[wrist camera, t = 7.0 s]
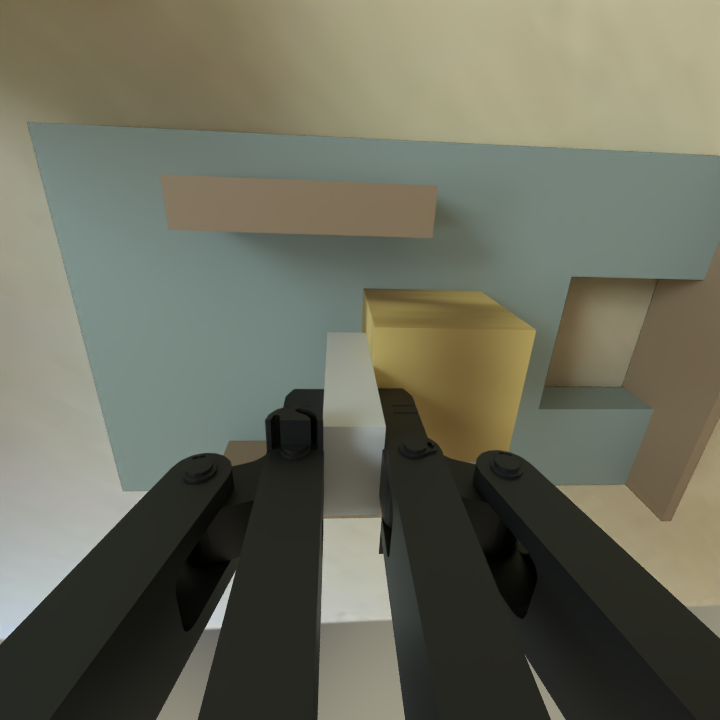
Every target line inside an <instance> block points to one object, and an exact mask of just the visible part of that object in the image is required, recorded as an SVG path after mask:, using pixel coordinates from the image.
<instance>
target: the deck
mask: <svg viewBox="0 0 720 720" xmlns="http://www.w3.org/2000/svg"><path fill="white" fill-rule="evenodd" d="M27 124H28V128H29V132H30V136H31V140H32V143H33V147H34V151H35V155H36V159H37V163H38V167H39V170H40V174H41V178H42V182H43V186H44V190H45V194H46V197H47V201H48V205H49V209H50V213H51V217H52V220H53V224H54V228H55V232H56V236H57V240H58V244H59V247H60V251H61V255H62V259H63V263H64V267H65V270H66V274H67V278H68V282H69V286H70V290H71V294H72V297H73V301H74V305H75V309H76V313H77V317H78V320H79V324H80V328H81V332H82V336H83V340H84V344H85V347H86V351H87V355H88V359H89V363H90V367H91V370H92V374H93V378H94V382H95V386H96V390H97V394H98V397H99V401H100V405H101V409H102V413H103V417H104V420H105V424H106V428H107V432H108V436H109V440H110V444H111V447H112V451H113V455H114V459H115V463H116V467H117V470H118V474H119V478H120V482H121V486H122V490H123V491H150V489H151V488H152V487H153V486H154V485H155V484H156V483H157V482H158V481H159V480H160V479H161V478H162V477H163V476H164V475H165V474H166V473H167V472H168V471H169V470H170V469H171V468H172V467H173V466H174V465H176V464H177V463H178V462H179V461H181V460H183V459H185V458H187V457H190V456H192V455H196V454H201V453H217V454H220V455H223V456H225V457H227V458H228V459H229V460H230V461H231V465H232V466H236V465H240V464H245V463H248V462H252V461H255V460H257V459H259V458H261V457H263V456H264V455H266V452H267V445H266V430H265V419H266V418H267V416H268V415H269V414H270V413H272V412H273V411H275V410H277V409H280V408H283V405H284V401H285V397H286V396H287V395H288V394H289V393H290V392H291V391H292V390H293V389H324V385H325V367H326V348H327V332H355V333H362V310H363V288H370V289H413V290H455V291H481V292H483V293H484V294H486V295H487V296H489V297H490V298H491V299H493V300H494V301H496V302H497V303H499V304H500V305H501V306H503V307H504V308H506V309H507V310H509V311H510V312H511V313H513V314H514V315H516V316H517V317H519V318H520V319H521V320H523V321H524V322H526V323H527V324H528V325H530V326H531V327H533V328H534V329H536V334H535V338H534V343H533V347H532V351H531V356H530V360H529V365H528V369H527V373H526V378H525V382H524V386H523V391H522V395H521V399H520V404H519V408H518V413H517V417H516V421H515V426H514V430H513V434H512V439H511V443H510V447H509V452H511V453H513V454H516V455H518V456H521V457H522V458H524V459H525V460H527V461H528V462H529V463H531V464H532V465H533V466H534V467H535V468H536V469H537V470H538V471H539V472H540V473H541V474H543V475H544V476H545V477H546V478H547V479H548V480H549V481H550V482H551V483H552V484H553V485H620V484H625V485H626V486H627V487H628V488H629V489H630V490H631V491H632V492H633V493H634V494H635V495H636V496H637V497H638V498H639V499H640V500H641V501H642V502H643V503H644V504H645V505H646V506H647V507H648V508H649V509H650V510H651V511H652V512H653V513H654V514H655V515H656V516H657V517H658V518H659V519H660V520H661V521H671V520H672V517H673V515H674V513H675V511H676V509H677V507H678V505H679V502H680V500H681V498H682V496H683V494H684V492H685V490H686V487H687V485H688V483H689V481H690V479H691V477H692V475H693V472H694V470H695V468H696V466H697V464H698V462H699V460H700V457H701V455H702V453H703V451H704V449H705V447H706V444H707V442H708V440H709V438H710V436H711V434H712V432H713V429H714V427H715V425H716V423H717V421H718V419H719V417H720V156H715V155H694V154H674V153H653V152H633V151H613V150H592V149H572V148H551V147H531V146H510V145H490V144H469V143H449V142H428V141H408V140H387V139H367V138H346V137H326V136H306V135H285V134H265V133H244V132H224V131H203V130H183V129H162V128H142V127H121V126H101V125H80V124H60V123H39V122H27ZM571 277H610V278H650V279H659V280H658V283H657V286H656V288H655V291H654V294H653V297H652V300H651V303H650V306H649V309H648V312H647V315H646V318H645V321H644V324H643V327H642V330H641V333H640V336H639V339H638V341H637V344H636V347H635V350H634V353H633V356H632V359H631V362H630V365H629V368H628V371H627V374H626V377H625V380H624V383H623V386H622V387H544V385H545V381H546V377H547V373H548V369H549V365H550V361H551V357H552V353H553V349H554V345H555V341H556V337H557V333H558V329H559V325H560V321H561V317H562V313H563V309H564V305H565V301H566V297H567V293H568V289H569V285H570V281H571ZM468 463H473V464H476V462H468ZM376 517H382V512H381V505H380V511H379V515H360V516H323V519H324V518H376Z"/></svg>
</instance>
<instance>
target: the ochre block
mask: <svg viewBox="0 0 720 720" xmlns="http://www.w3.org/2000/svg"><path fill="white" fill-rule="evenodd" d="M362 333H366V337H367V341H368V346H369V350H370V355H371V360H372V364H373V369H374V374H375V378H376V383H377V388H403V389H404V390H406V391H407V392H408V393H409V394H410V395H412V397H413V399H414V402H415V405H416V407H417V410H418V414H419V415H420V418H421V421H422V423H423V426H424V429H425V432H426V434H427V437H428V438H430V439H431V440H433V441H434V442H436V443H437V444H438V445H439V447H440V448H441V449H442V452H443V454H444V456H447V457H449V458H451V459H455V460H459V461H463V462H476V459H477V457H478V456H479V455H480V454H481V453H483V452H486V451H489V450H501V451H507V452H509V447H510V443H511V439H512V434H513V430H514V426H515V421H516V417H517V413H518V408H519V404H520V399H521V395H522V391H523V386H524V382H525V378H526V373H527V369H528V365H529V360H530V356H531V351H532V347H533V343H534V338H535V334H536V329H534V328H533V327H531V326H530V325H528V324H527V323H526V322H524V321H523V320H521V319H520V318H519V317H517V316H516V315H514V314H513V313H511V312H510V311H509V310H507V309H506V308H504V307H503V306H501V305H500V304H499V303H497V302H496V301H494V300H493V299H491V298H490V297H489V296H487V295H486V294H484V293H483V292H481V291H455V290H413V289H370V288H363V310H362Z"/></svg>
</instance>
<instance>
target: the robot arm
mask: <svg viewBox="0 0 720 720" xmlns="http://www.w3.org/2000/svg"><path fill="white" fill-rule="evenodd" d="M265 430H266V445H267V452H266V455H264V456H263V457H261V458H259V459H257V460H255V461H252V462H248V463H245V464H240V465H236V466H232V465H231V461H230V460H229V459H228V458H227V457H225V456H223V455H220V454H217V453H201V454H196V455H192V456H190V457H187V458H185V459H183V460H181V461H179V462H178V463H177V464H176V465H174V466H173V467H172V468H171V469H170V470H169V471H168V472H167V473H166V474H165V475H164V476H163V477H162V478H161V479H160V480H159V481H158V482H157V483H156V484H155V485H154V486H153V487H152V488H151V489H150V491H149V492H148V493H147V494H146V495H145V496H144V497H143V498H142V499H141V500H140V501H139V502H138V503H137V504H136V505H135V506H134V507H133V508H132V509H131V510H130V511H129V512H128V513H127V514H126V515H125V516H124V517H123V518H122V519H121V520H120V522H119V523H118V524H117V525H116V526H115V527H114V528H113V529H112V530H111V531H110V532H109V533H108V534H107V535H106V536H105V537H104V538H103V539H102V540H101V541H100V542H99V543H98V544H97V545H96V546H95V547H94V548H93V549H92V550H91V552H90V553H89V554H88V555H87V556H86V557H85V558H84V559H83V560H82V561H81V562H80V563H79V564H78V565H77V566H76V567H75V568H74V569H73V570H72V571H71V572H70V573H69V574H68V575H67V576H66V577H65V578H64V579H63V580H62V581H61V583H60V584H59V585H58V586H57V587H56V588H55V589H54V590H53V591H52V592H51V593H50V594H49V595H48V596H47V597H46V598H45V599H44V600H43V601H42V602H41V603H40V604H39V605H38V606H37V607H36V608H35V609H34V610H33V611H32V613H31V614H30V615H29V616H28V617H27V618H26V619H25V620H24V621H23V622H22V623H21V624H20V625H19V626H18V627H17V628H16V629H15V630H14V631H13V632H12V633H11V634H10V635H9V636H8V637H7V638H6V639H5V640H4V641H3V642H2V644H1V645H0V720H156V718H157V717H158V715H159V713H160V711H161V709H162V707H163V705H164V703H165V702H166V700H167V698H168V696H169V694H170V692H171V690H172V688H173V687H174V685H175V683H176V681H177V679H178V677H179V675H180V674H181V672H182V670H183V668H184V666H185V664H186V662H187V661H188V659H189V657H190V655H191V653H192V651H193V649H194V647H195V646H196V644H197V642H198V640H199V638H200V636H201V634H202V632H203V631H204V629H205V627H206V625H207V623H208V621H209V619H210V618H211V616H212V614H213V612H214V610H215V608H216V606H217V604H218V603H219V601H220V599H221V597H222V595H223V593H224V591H225V589H226V588H227V586H228V584H229V582H230V580H231V578H232V576H233V574H234V573H235V571H236V573H235V577H234V581H233V584H232V588H231V592H230V596H229V600H228V604H227V608H226V612H225V616H224V620H223V623H222V627H221V631H220V635H219V639H218V643H217V647H216V651H215V655H214V659H213V663H212V666H211V670H210V674H209V678H208V682H207V686H206V690H205V694H204V698H203V702H202V706H201V709H200V713H199V717H198V720H317V715H318V685H319V652H320V621H321V589H322V557H323V516H360V515H379V511H380V505H381V512H382V522H381V534H380V547H379V554H383V553H384V560H385V568H386V576H387V583H388V591H389V599H390V606H391V614H392V622H393V629H394V637H395V645H396V652H397V660H398V667H399V675H400V683H401V691H402V698H403V706H404V714H405V720H551V719H550V716H549V714H548V711H547V709H546V706H545V704H544V701H543V699H542V697H541V694H540V692H539V689H538V687H537V684H536V682H535V679H534V677H533V674H532V672H531V669H530V667H529V664H528V662H527V659H528V660H529V662H530V663H531V665H532V667H533V668H534V670H535V671H536V673H537V675H538V676H539V678H540V679H541V681H542V682H543V684H544V686H545V687H546V689H547V691H548V692H549V694H550V695H551V697H552V698H553V700H554V701H555V703H556V705H557V706H558V708H559V709H560V711H561V713H562V714H563V716H564V718H565V719H566V720H720V638H719V637H717V635H715V634H714V633H713V632H712V631H711V630H710V629H709V628H708V627H707V626H706V625H705V624H704V623H702V622H701V621H700V620H699V619H698V618H697V617H696V616H695V615H694V614H693V613H692V612H691V611H689V610H688V609H687V608H686V607H685V606H684V605H683V604H682V603H681V602H680V601H679V600H678V599H677V598H675V597H674V596H673V595H672V594H671V593H670V592H669V591H668V590H667V589H666V588H665V587H664V586H662V585H661V584H660V583H659V582H658V581H657V580H656V579H655V578H654V577H653V576H652V575H651V574H650V573H648V572H647V571H646V570H645V569H644V568H643V567H642V566H641V565H640V564H639V563H638V562H637V561H635V560H634V559H633V558H632V557H631V556H630V555H629V554H628V553H627V552H626V551H625V550H624V549H622V548H621V547H620V546H619V545H618V544H617V543H616V542H615V541H614V540H613V539H612V538H611V537H610V536H608V535H607V534H606V533H605V532H604V531H603V530H602V529H601V528H600V527H599V526H598V525H597V524H595V523H594V522H593V521H592V520H591V519H590V518H589V517H588V516H587V515H586V514H585V513H584V512H582V511H581V510H580V509H579V508H578V507H577V506H576V505H575V504H574V503H573V502H572V501H571V500H570V499H568V498H567V497H566V496H565V495H564V494H563V493H562V492H561V491H560V490H559V489H558V488H557V487H555V486H554V485H553V484H552V483H551V482H550V481H549V480H548V479H547V478H546V477H545V476H544V475H543V474H541V473H540V472H539V471H538V470H537V469H536V468H535V467H534V466H533V465H532V464H531V463H529V462H528V461H527V460H525V459H524V458H522V457H521V456H518V455H516V454H513V453H511V452H507V451H501V450H489V451H486V452H483V453H481V454H480V455H479V456H478V457H477V459H476V464H473V463H468V462H463V461H459V460H455V459H451V458H449V457H447V456H444V454H443V452H442V449H441V448H440V447H439V445H438V444H437V443H436V442H434V441H433V440H431V439H430V438H428V437H427V434H426V432H425V429H424V426H423V423H422V421H421V418H420V415H419V414H418V410H417V407H416V405H415V402H414V399H413V397H412V395H410V394H409V393H408V392H407V391H406V390H404V389H403V388H377V383H376V378H375V374H374V369H373V364H372V360H371V355H370V350H369V346H368V341H367V337H366V333H355V332H327V348H326V367H325V385H324V389H293V390H292V391H291V392H290V393H289V394H288V395H287V396H286V397H285V401H284V405H283V408H280V409H277V410H275V411H273V412H272V413H270V414H269V415H268V416H267V418H266V419H265ZM524 654H525V655H526V657H527V659H526V657H525V655H524Z"/></svg>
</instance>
